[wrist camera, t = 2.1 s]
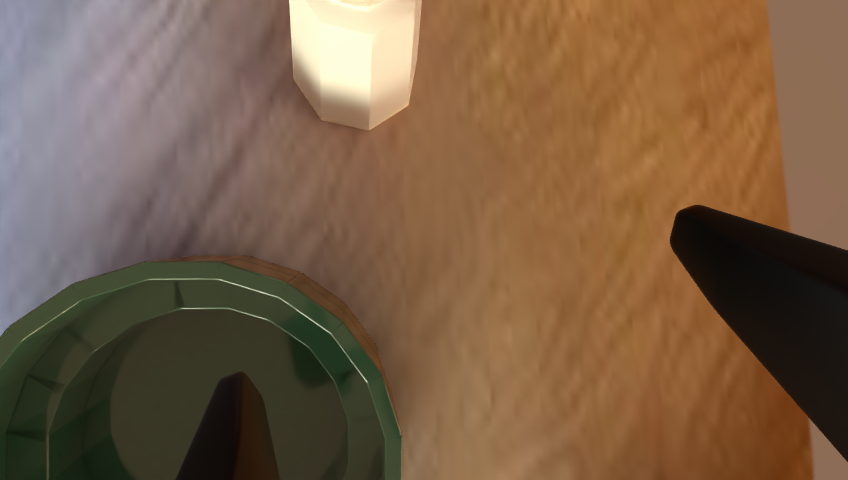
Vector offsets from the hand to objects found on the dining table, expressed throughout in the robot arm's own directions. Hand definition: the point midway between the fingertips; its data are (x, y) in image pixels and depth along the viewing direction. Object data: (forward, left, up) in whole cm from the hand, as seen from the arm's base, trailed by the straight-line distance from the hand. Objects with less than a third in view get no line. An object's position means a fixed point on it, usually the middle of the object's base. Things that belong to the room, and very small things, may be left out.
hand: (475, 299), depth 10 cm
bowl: (+2, +10, -13) cm, 16 cm away
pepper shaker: (+7, -5, -13) cm, 15 cm away
